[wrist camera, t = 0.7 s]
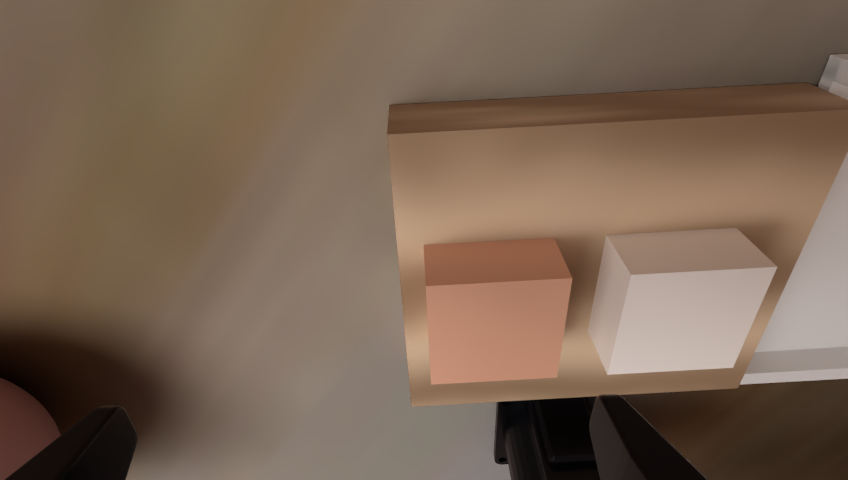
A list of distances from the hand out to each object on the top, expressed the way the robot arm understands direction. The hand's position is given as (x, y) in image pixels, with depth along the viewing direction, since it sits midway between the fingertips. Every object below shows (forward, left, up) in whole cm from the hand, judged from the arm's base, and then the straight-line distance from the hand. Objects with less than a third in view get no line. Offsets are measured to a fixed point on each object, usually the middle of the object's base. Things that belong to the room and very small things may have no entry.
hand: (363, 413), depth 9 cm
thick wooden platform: (-5, -8, -13) cm, 16 cm away
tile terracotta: (-5, -4, -10) cm, 11 cm away
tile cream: (-5, -11, -10) cm, 15 cm away
